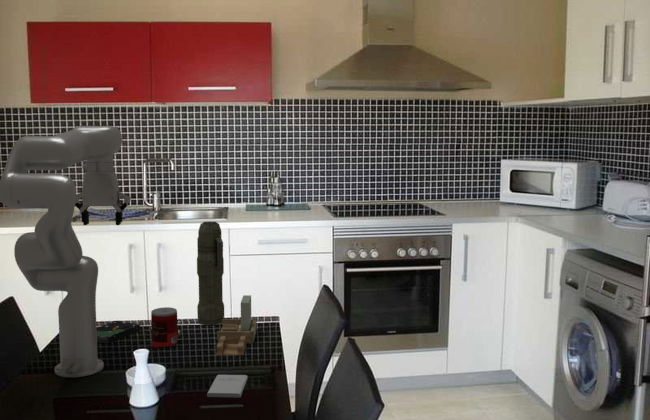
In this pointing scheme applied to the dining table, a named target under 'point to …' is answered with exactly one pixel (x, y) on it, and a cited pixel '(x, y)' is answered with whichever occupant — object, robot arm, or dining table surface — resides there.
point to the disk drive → (115, 331)
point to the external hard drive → (228, 386)
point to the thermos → (210, 274)
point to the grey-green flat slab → (246, 313)
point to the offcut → (229, 327)
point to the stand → (231, 347)
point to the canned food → (164, 327)
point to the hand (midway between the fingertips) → (102, 224)
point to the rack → (238, 331)
